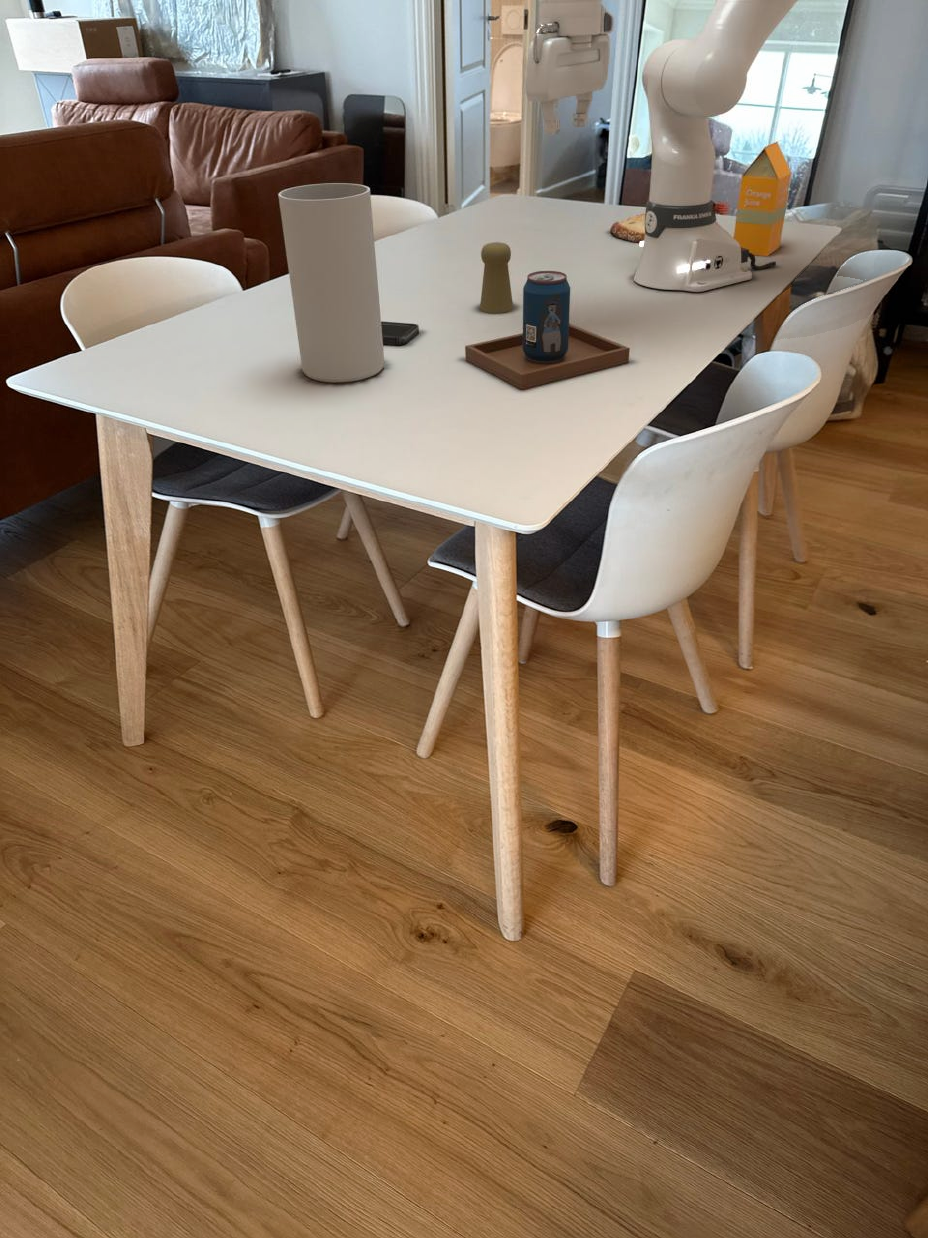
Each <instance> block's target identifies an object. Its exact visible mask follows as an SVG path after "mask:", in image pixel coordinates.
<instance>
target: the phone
mask: <svg viewBox="0 0 928 1238" xmlns="http://www.w3.org/2000/svg"><path fill="white" fill-rule="evenodd" d="M381 327H382V340H383V345H392V346H402V345H406V344H407V343H408V342H410V341H411V340H412V339H413V338H415V337H416V336H417V335H418V334H419V333H420V327H419V324H417V323H407V322H395V321H382V320H381Z"/></svg>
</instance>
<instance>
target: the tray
mask: <svg viewBox="0 0 928 1238" xmlns="http://www.w3.org/2000/svg"><path fill="white" fill-rule="evenodd" d="M464 351H465V352H464V353H465V354H464V356H465V359H464V360H465V361H467V362H468V363H470V364H473V365H475V366H476V367H478V368H479V369H482V370H483V371H486V372H488V373H489V374H491V375H493V376H495V377H497V378H499V379H501V380H502V381H504V382H506V383H508V384H510V385H512V386H514V387H516V388H518V389H520V390H527V389H530V388H534V387H538V386H541V385H546V384H550V383H553V382H558V381H561V380H566V379H569V378H573V377H576V376H581V375H585V374H589V373H592V372H596V371H600V370H604V369H608V368H612V367H615V366H620V365H624V364H628V363H629V362H630V351H631V350H630V347H628V346H625V345H623V344H621V343H619V342H617V341H613V340H611V339H609V338H606V337H603V336H601V335H598V334H596V333H594V332H591V331H589V330H587V329H584V328H581V327H579V326H576V325H575V324H572V323H569V341H568V351H567V352H566V354H565V356H564V357H563V359H562V360H560V361H557V362H553V363H537V362H533V361H530V360H529V359H528V358H527V357H526V355H525V353H524V351H523V332H522V333H521V332H520V333H516V334H512V335H509V336H504V337H500V338H499V337H498V338H494V339H491V340H486V341H482V342H478V343H473V344H468V345H465V346H464Z"/></svg>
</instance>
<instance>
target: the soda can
mask: <svg viewBox="0 0 928 1238" xmlns="http://www.w3.org/2000/svg"><path fill="white" fill-rule="evenodd" d="M567 278H568V276H567V274H566V273H564V272H561V271H557V270H537V271H533V272H531V273H529V274H527V276H526V281H525V283H524V286H523V288H522V333H523V351H524V353H525V355H526V357H527V358H528V359H529V360H530V361H533V362H537V363H553V362H557V361H560V360H562V359H563V357H564V356H565V354H566V352H567V351H568V341H569V324H570V311H571V310H570V309H571V308H570V307H571V286H570V283H569V280H568V279H567Z"/></svg>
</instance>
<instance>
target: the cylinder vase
mask: <svg viewBox="0 0 928 1238" xmlns="http://www.w3.org/2000/svg"><path fill="white" fill-rule="evenodd" d="M277 195H278V202H279V203H278V204H279V210H280V217H281V218H280V219H281V224H282V231H283V240H284V246H285V254H286V261H287V268H288V269H287V270H288V275H289V282H290V284H289V285H290V291H291V299H292V304H293V305H292V307H293V312H294V320H295V326H296V334H297V340H298V348H299V356H300V364H301V369H302V372H303V373H304V375H305V376H306V377H308V378H310V379H312V380H315V381H317V382H323V383H336V384H337V383H338V384H339V383H351V382H356V381H357V382H358V381H361V380H362V381H363V380H365V379H368V378H371V377H373V376H375V375H376V374H378V373H380V372H381V371H382V369H383V368H384V365H385V353H384V344H383V340H382V327H381V321H382V317H381V307H380V306H381V305H380V292H379V282H378V280H379V279H378V268H377V258H376V257H377V256H376V244H375V234H374V219H373V208H372V198H371V197H372V196H371V188H370V187H369V186H367V185H365V184H358V183H347V182H346V183H345V182H344V183H343V182H341V183H340V182H332V183H331V182H330V183H328V182H327V183H315V184H306V185H305V184H304V185H299V186H294V187H290V188H286V189H283V190H281V191H280V192H278V194H277Z"/></svg>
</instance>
